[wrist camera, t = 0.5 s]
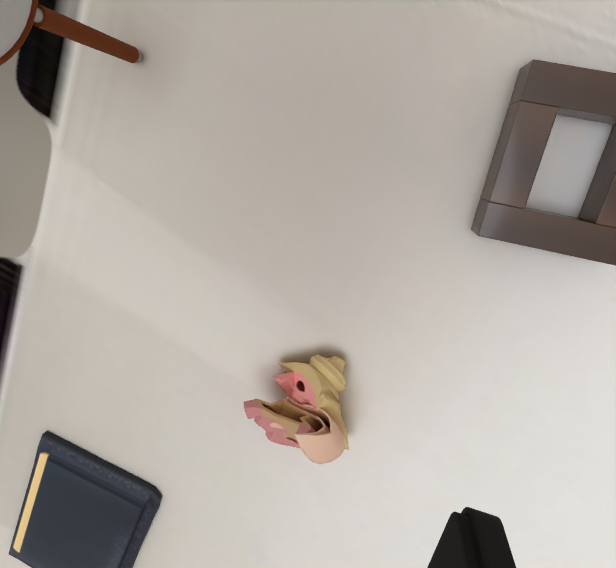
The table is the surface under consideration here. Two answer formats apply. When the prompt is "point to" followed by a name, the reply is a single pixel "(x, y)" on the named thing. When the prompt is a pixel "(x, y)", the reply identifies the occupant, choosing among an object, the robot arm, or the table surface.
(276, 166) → the table surface
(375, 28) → the table surface
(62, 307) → the table surface
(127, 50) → the magnifying glass
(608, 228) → the stand
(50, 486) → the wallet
